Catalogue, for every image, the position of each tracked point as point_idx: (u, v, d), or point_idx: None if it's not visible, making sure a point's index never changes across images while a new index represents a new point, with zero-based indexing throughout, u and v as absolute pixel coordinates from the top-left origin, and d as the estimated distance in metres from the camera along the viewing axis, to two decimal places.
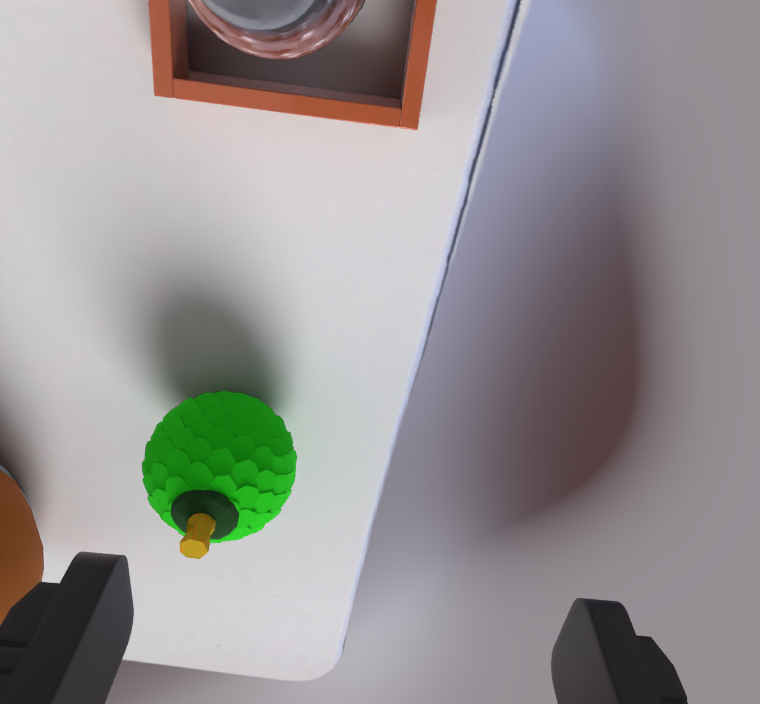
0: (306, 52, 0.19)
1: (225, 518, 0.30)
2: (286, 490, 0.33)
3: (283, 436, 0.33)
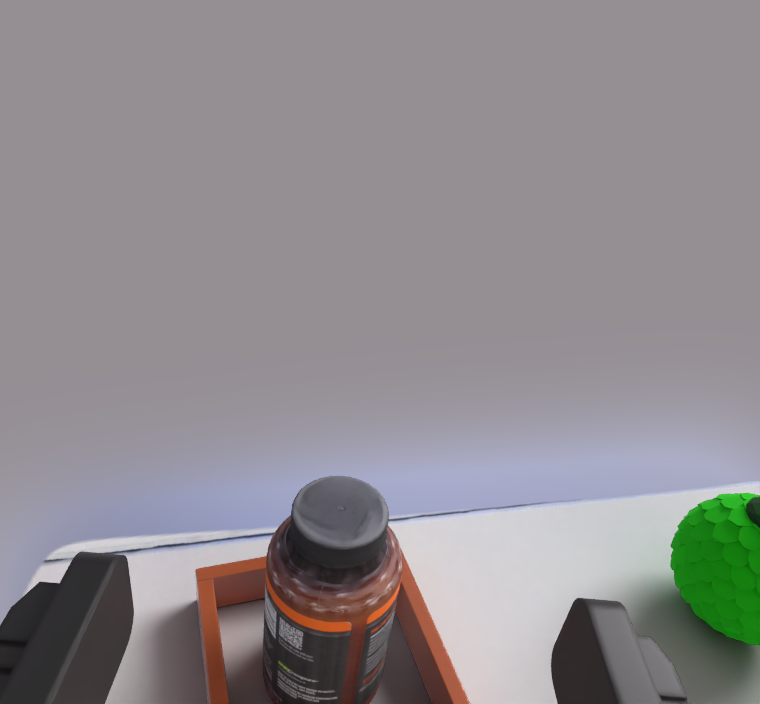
0: None
1: None
2: None
3: (677, 532, 0.37)
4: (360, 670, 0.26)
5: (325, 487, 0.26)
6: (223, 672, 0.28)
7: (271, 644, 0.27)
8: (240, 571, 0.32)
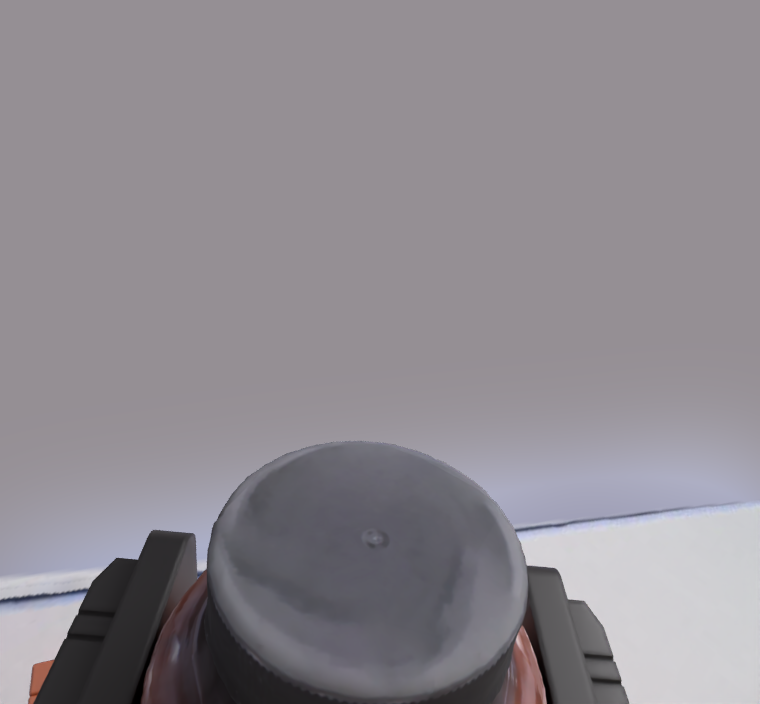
0: None
1: None
2: None
3: None
4: None
5: (321, 472, 0.09)
6: None
7: None
8: None
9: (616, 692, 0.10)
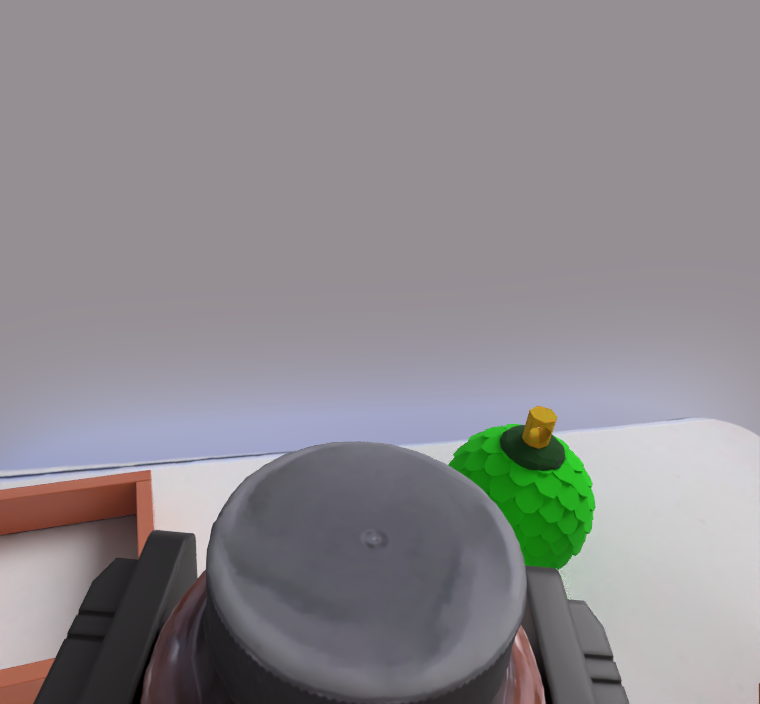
0: None
1: (518, 429, 0.32)
2: None
3: None
4: None
5: (320, 473, 0.09)
6: None
7: None
8: None
9: (616, 692, 0.10)
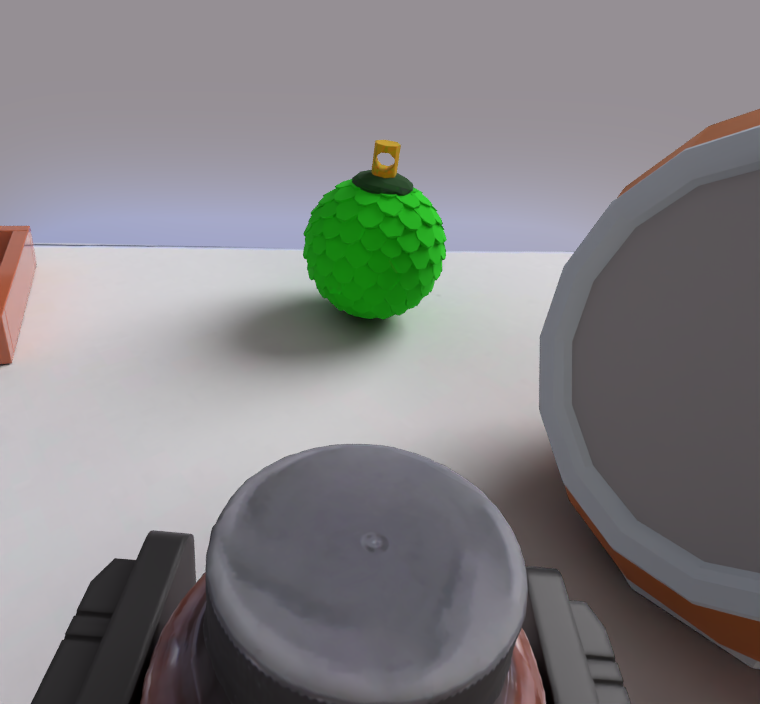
0: None
1: (372, 171, 0.34)
2: None
3: None
4: None
5: (320, 476, 0.08)
6: None
7: None
8: None
9: (618, 693, 0.10)
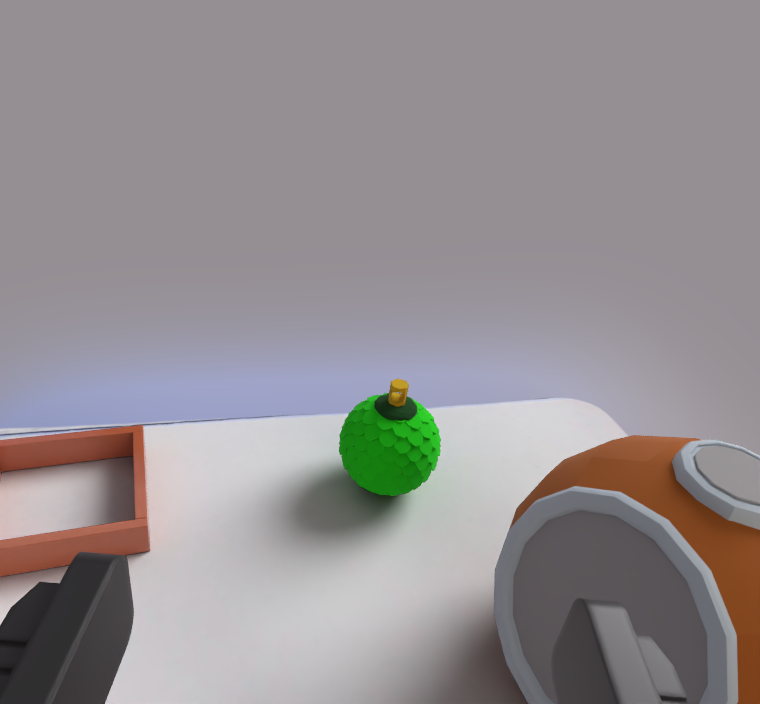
0: None
1: (388, 395, 0.48)
2: None
3: None
4: None
5: None
6: None
7: None
8: (17, 443, 0.47)
9: None
